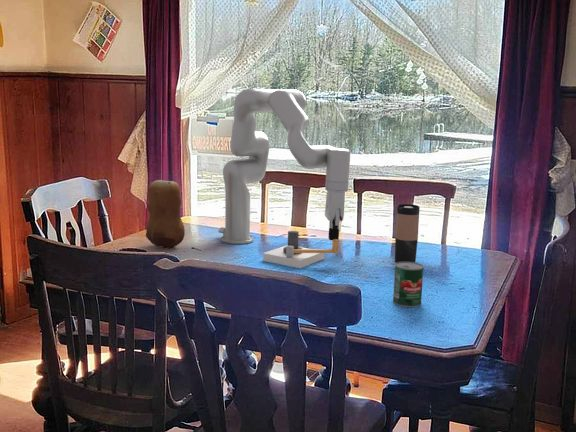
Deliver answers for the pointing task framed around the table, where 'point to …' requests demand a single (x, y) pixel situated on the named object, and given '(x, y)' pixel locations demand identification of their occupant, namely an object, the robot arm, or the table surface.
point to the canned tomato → (408, 284)
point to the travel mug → (406, 233)
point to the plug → (293, 240)
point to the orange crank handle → (291, 250)
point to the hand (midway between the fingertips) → (333, 239)
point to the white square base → (292, 258)
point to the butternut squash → (164, 214)
